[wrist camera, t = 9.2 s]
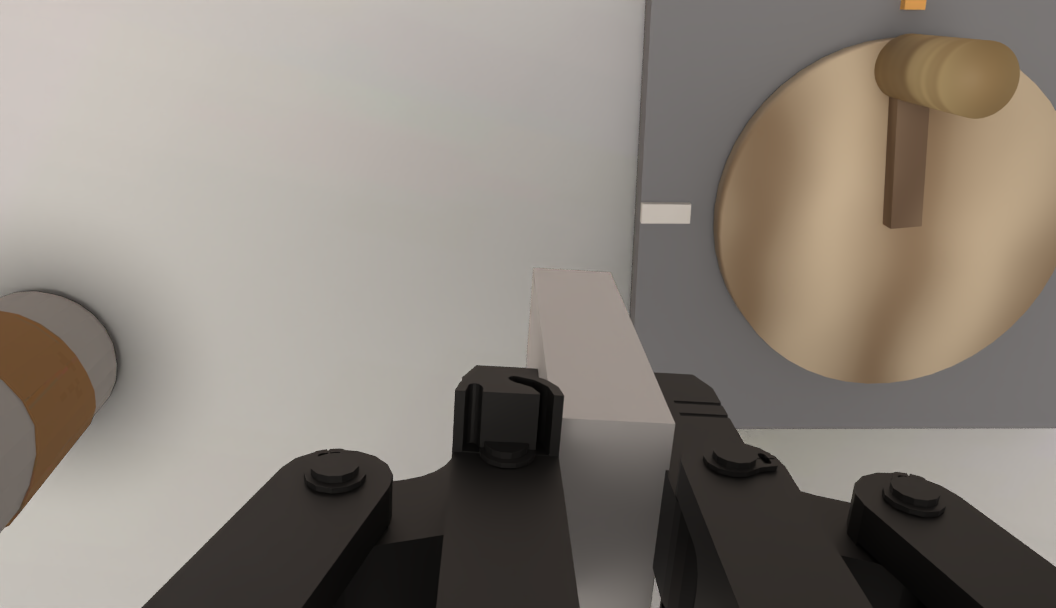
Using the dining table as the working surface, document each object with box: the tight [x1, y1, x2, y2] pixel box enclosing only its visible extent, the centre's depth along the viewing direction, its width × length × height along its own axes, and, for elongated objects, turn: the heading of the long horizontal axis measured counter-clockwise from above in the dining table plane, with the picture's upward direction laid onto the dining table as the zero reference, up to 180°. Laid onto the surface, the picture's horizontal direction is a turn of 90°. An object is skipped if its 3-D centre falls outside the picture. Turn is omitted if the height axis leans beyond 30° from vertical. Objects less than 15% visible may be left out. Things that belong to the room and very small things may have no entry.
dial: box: [713, 34, 1056, 384], centre depth 33 cm, size 14×14×7 cm
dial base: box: [630, 0, 1056, 429], centre depth 37 cm, size 20×20×2 cm
